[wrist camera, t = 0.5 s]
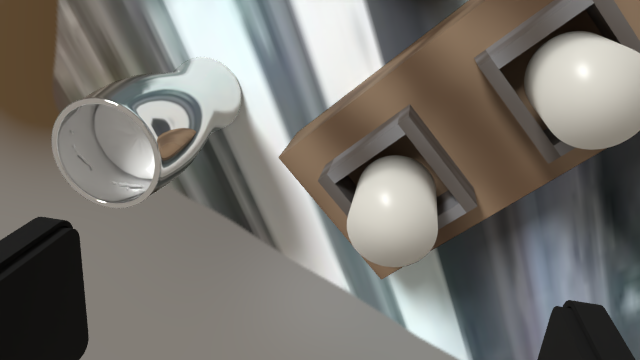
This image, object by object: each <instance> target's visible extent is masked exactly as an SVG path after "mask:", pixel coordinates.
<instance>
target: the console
mask: <svg viewBox="0 0 640 360" xmlns="http://www.w3.org/2000/svg"><path fill="white" fill-rule="evenodd" d="M572 31H586V32H591V33H595V34H598V35H600V36H602V37H605V38H607V39H609V40H612V41H614V42H617V43H619V44H621V45H624V46H626V47H628V48H631V49H633V50H635V51H637V52H638V53H640V0H469V1H467V2H466V3H465V4H464V5H462V6H461V7H460V8H458V9H457V10H456V11H454V12H453V13H452V14H451V15H449V16H448V17H447V18H445V19H444V20H443V21H442V22H440V23H439V24H438V25H436V26H435V27H434V28H432V29H431V30H430V31H429V32H427V33H426V34H425V35H423V36H422V37H421V38H419V39H418V40H417V41H416V42H414V43H413V44H412V45H410V46H409V47H408V48H406V49H405V50H404V51H403V52H401V53H400V54H399V55H397V56H396V57H395V58H394V59H392V60H391V61H390V62H388V63H387V64H386V65H384V66H383V67H382V68H381V69H379V70H378V71H377V72H375V73H374V74H373V75H371V76H370V77H369V78H368V79H366V80H365V81H364V82H362V83H361V84H360V85H358V86H357V87H356V88H355V89H353V90H352V91H351V92H349V93H348V94H347V95H345V96H344V97H343V98H342V99H340V100H339V101H338V102H336V103H335V104H334V105H333V106H331V107H330V108H329V109H327V110H326V111H325V112H323V113H322V114H321V115H320V116H318V117H317V118H316V119H314V120H313V121H312V122H310V123H309V124H308V125H307V126H305V127H304V128H303V129H301V130H300V131H299V132H297V134H296V135H295V136H294V138H293V139H292V140H291V142H290V143H289V144H288V146H287V147H286V148H285V150H284V151H283V152H282V154H281V155H280V156H279V159H280V160H281V161H282V162H283V163H284V165H285V166H286V167H287V168H288V169H289V171H290V172H291V173H292V174H293V175H294V177H295V178H296V179H297V180H298V181H299V182H300V184H301V185H302V186H303V187H304V188H305V190H306V191H307V192H308V193H309V194H310V196H311V197H312V198H313V199H314V200H315V201H316V203H317V204H318V205H319V206H320V207H321V209H322V210H323V211H324V212H325V213H326V214H327V216H328V217H329V218H330V219H331V220H332V222H333V223H334V224H335V225H336V226H337V228H338V229H339V230H340V231H341V232H342V233H343V235H344V236H345V237H346V238H347V239H348V241H349V242H350V243H351V241H350V239H349V236H348V232H347V218H348V214H349V211H350V207H351V204H352V201H353V197H354V194H355V191H356V188H357V184H358V181H359V178H360V176H361V174H362V172H363V171H364V170H365V168H366V167H367V166H368V165H370V164H371V163H372V162H374V161H375V160H377V159H379V158H382V157H385V156H391V155H400V156H406V157H409V158H412V159H414V160H416V161H418V162H420V163H421V164H422V165H424V166H425V167H426V168H427V169H428V171H429V172H430V173H431V175H432V177H433V179H434V182H435V186H436V198H437V219H438V234H437V238H436V241H435V244H434V246H433V247H432V249H431V250H433V249H435V248H436V247H438V246H440V245H441V244H443V243H445V242H447V241H448V240H450V239H452V238H453V237H455V236H457V235H459V234H460V233H462V232H464V231H465V230H467V229H469V228H471V227H472V226H474V225H476V224H477V223H479V222H481V221H483V220H484V219H486V218H488V217H489V216H491V215H493V214H495V213H496V212H498V211H500V210H501V209H503V208H505V207H507V206H508V205H510V204H512V203H514V202H515V201H517V200H519V199H520V198H522V197H524V196H526V195H527V194H529V193H531V192H532V191H534V190H536V189H538V188H539V187H541V186H543V185H544V184H546V183H548V182H550V181H551V180H553V179H555V178H556V177H558V176H560V175H562V174H563V173H565V172H567V171H568V170H570V169H572V168H574V167H575V166H577V165H579V164H580V163H582V162H584V161H586V160H587V159H589V158H591V157H592V156H594V155H596V154H598V153H599V152H601V151H603V150H604V149H606V148H604V149H595V150H589V149H581V148H576V147H573V146H570V145H568V144H566V143H564V142H563V141H561V140H560V139H558V138H557V137H556V136H555V135H554V134H553V133H552V132H551V131H550V129H549V128H548V127H547V125H546V124H545V123H544V121H543V120H542V119H541V117H540V116H539V114H538V113H537V112H536V110H535V109H534V108H533V106H532V105H531V104H530V102H529V100H528V98H527V96H526V93H525V88H524V76H525V71H526V68H527V65H528V63H529V61H530V59H531V58H532V56H533V55H534V53H535V52H536V51H537V50H538V49H539V48H540V47H541V46H542V45H543V44H544V43H546V42H547V41H548V40H550V39H552V38H553V37H556V36H558V35H560V34H563V33H567V32H572ZM351 244H352V243H351ZM353 247H354V246H353ZM431 250H430V251H431ZM361 256H362V255H361ZM362 257H363V256H362ZM363 258H364V257H363ZM364 260H365V261H366V262H367V263H368V264H369V266H370V267H371V268H372V269H373V270H374V271H375V273H376V274H377V275H378V276H379V277H380V279H383V278H385V277H387V276H388V275H390V274H392V273H393V272H395V271H397V270H399V269H400V268H402V267H385V266H381V265H378V264H375V263H373V262H371V261H369V260H367V259H366V258H364ZM403 267H404V266H403Z"/></svg>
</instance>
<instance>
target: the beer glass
mask: <svg viewBox="0 0 640 360" xmlns="http://www.w3.org/2000/svg"><path fill="white" fill-rule="evenodd" d="M241 99H242V97H241V90H240V86H239V83H238V81H237V79H236V77H235V76H234V74H233V73H232V72H231V71H230V69H229V68H228V67H226V66H225V65H224V64H222V63H221V62H219V61H217V60H215V59H212V58H207V57H196V58H192V59H189V60H187V61H185V62H184V63H182V64H181V65H180V66H178V67H177V68H176V69H175V70H174V71H173V72H170V73H149V74H142V75H135V76H131V77H127V78H124V79H121V80H118V81H115V82H113V83H111V84H109V85H106V86H104V87H102V88H100V89H98V90H96V91H94V92H92V93H91V94H89V95H87V96H86V97H84V98H82V99H80V100H78V101H75V102H73V103H71V104H70V105H68V106H67V107H66V108H65V109H64V110H63V111H62V112H61V113H60V114H59V116H58V118H57V119H56V121H55V124H54V127H53V131H52V151H53V155H54V159H55V162H56V164H57V166H58V169H59V170H60V172H61V174H62V176H63V177H64V178H65V180H66V181H67V182H68V184H69V185H70V186H71V187H72V188H73V189H74V190H75V191H76V192H78V193H79V194H80V195H81V196H83V197H84V198H86V199H87V200H89V201H91V202H94V203H96V204H98V205H101V206H104V207H109V208H128V207H132V206H135V205H137V204H139V203H141V202H143V201H144V200H145V199H146V198H148V197H149V196H150V195H152V194H153V193H155V192H157V191H158V190H160V189H161V188H163V187H164V186H166V185H167V184H169V183H170V182H171V181H173V180H174V179H175V178H176V177H178V176H179V175H180V174H181V173H182V172H183V171H184V170H185V169H186V168H187V167H188V166H189V165H190V164H191V163H192V162H193V161H194V159H195V158H196V157H197V155H198V154H199V152H200V151H201V149H202V148H203V146H204V144H205V143H206V141H207V139H208V137H209V136H210V134H211V132H215V131H218V130H221V129H223V128H225V127H227V126H228V125H229V124H231V123H232V122H233V121H234V119H235V118H236V117H237V115H238V113H239V110H240V107H241Z"/></svg>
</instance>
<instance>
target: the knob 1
mask: <svg viewBox="0 0 640 360" xmlns="http://www.w3.org/2000/svg"><path fill="white" fill-rule="evenodd" d="M347 232H348V236H349V239H350V241H351V243H352V245H353V246H354V248H355V249H356V250H357V252H358V253H359V254H360V255H362V256H363V257H364V258H366V259H367V260H369V261H371V262H373V263H375V264H378V265H381V266H385V267H403V266H407V265H410V264H413V263H415V262H417V261H419V260H421V259H422V258H423V257H425V256H426V255H427V254H428V253H429V252H430V250H431V249H432V247H433V246H434V244H435V241H436V238H437V234H438V219H437V198H436V186H435V182H434V179H433V177H432V175H431V173H430V172H429V171H428V169H427V168H426V167H425V166H424V165H422V164H421V163H420V162H418V161H416V160H414V159H412V158H409V157H406V156H400V155H391V156H385V157H382V158H379V159H377V160H375V161H374V162H372V163H371V164H370V165H368V166H367V167H366V168H365V170H364V171H363V172H362V174H361V176H360V178H359V181H358V184H357V188H356V191H355V194H354V197H353V201H352V204H351V207H350V211H349V214H348V218H347Z"/></svg>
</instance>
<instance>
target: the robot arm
mask: <svg viewBox="0 0 640 360" xmlns="http://www.w3.org/2000/svg"><path fill="white" fill-rule="evenodd" d="M87 344H88V326H87V315H86V304H85V292H84V281H83V271H82V259H81V248H80V237H79V233H78V232H77V231H76V230H75V229H73V227H72V225H71V223H70V222H68V221H65V220H59V219H53V218H46V217H38V218H35V219H33V220H32V221H30V222H29V223H27V224H26V225H24V226H22V227H21V228H19V229H18V230H16V231H14V232H13V233H11V234H10V235H8V236H7V237H5V238H3V239H2V240H0V360H79V359H80V358H81V357H82V355H83V354H84V352H85V350H86V348H87ZM538 360H635V358H634V357H633V355H632V353H631V352H630V350H629V348H628V347H627V345H626V343H625V342H624V340H623V338H622V336H621V335H620V333H619V331H618V330H617V328H616V326H615V325H614V323H613V321H612V320H611V318H610V316H609V315H608V313H607V311H606V310H605V308H604V307H603V306H601V305H597V304H591V303H584V302H578V301H572V300H568V301H566V302H565V304H564V305H563V307H559V306H556V307H554V309H553V310H552V313H551V316H550V319H549V323H548V326H547V329H546V333H545V336H544V339H543V343H542V346H541V350H540V353H539V356H538Z"/></svg>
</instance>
